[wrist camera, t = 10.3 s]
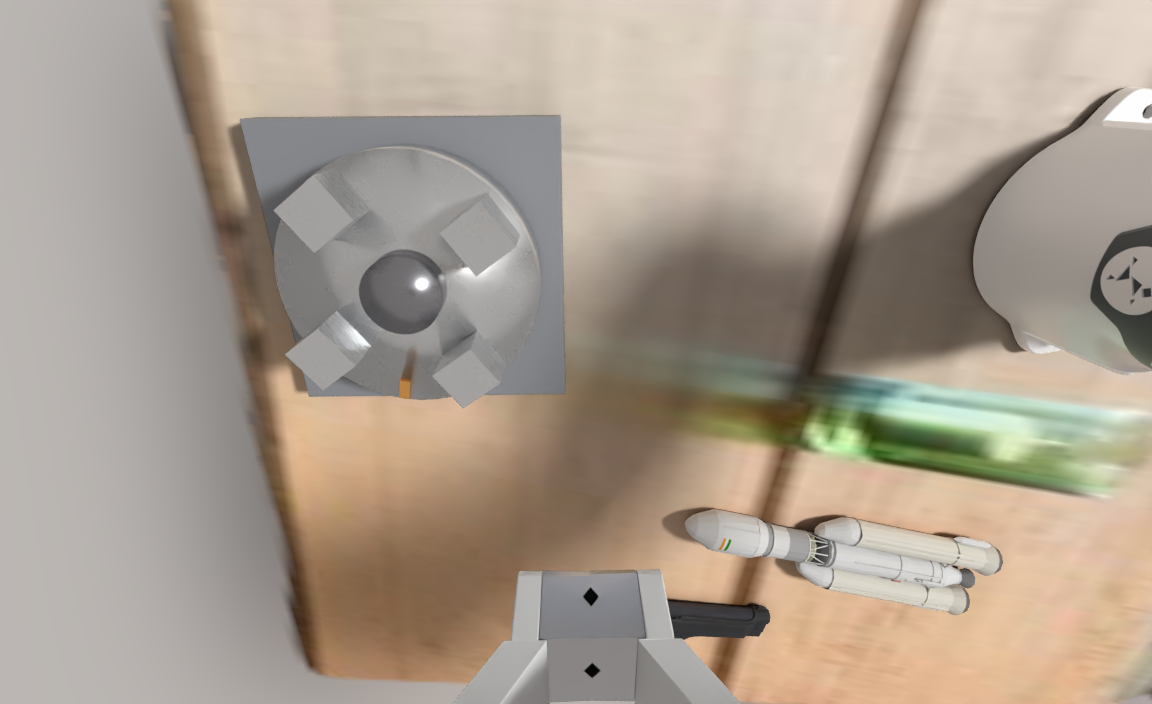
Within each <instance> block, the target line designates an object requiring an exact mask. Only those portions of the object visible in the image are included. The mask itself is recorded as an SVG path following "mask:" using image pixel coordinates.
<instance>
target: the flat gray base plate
mask: <svg viewBox="0 0 1152 704" xmlns="http://www.w3.org/2000/svg"><path fill="white" fill-rule="evenodd" d="M240 123H241V127H242V131H243V135H244V139H245V143H246V147H247V151H248V155H249V159H250V163H251V167H252V171H253V175H254V179H255V183H256V187H257V191H258V195H259V199H260V203H261V207H262V211H263V215H264V219H265V223H266V227H267V231H268V235H269V239H270V243H271V247H272V251H273V255H274V248H275V240H276V234H277V230H278V227H279V224H280V220H281V218H280V217H279V216H278V215H277V214H276V213H275V211H274V209H276V208H277V207H278V206H279V205H280V204H281V203H282V202H283V201H285V200H286V199H287V198H288V197H289V196H290V195H291V194H292V193H294V192H295V191H296V190H297V189H298V188H299V187H300V186H301V185H303V184H304V182H305V181H306V180H307V179H308V178H309V177H311V176H312V175H313V174H315V173H316V172H317V171H318V170H320V169H321V168H322V167H324V166H326V165H328V164H330V163H332V162H333V161H335V160H337V159H339V158H342V157H345V156H348V155H351V154H354V153H357V152H360V151H363V150H366V149H370V148H373V147H379V146H384V145H389V144H415V145H425V146H429V147H434V148H438V149H442V150H445V151H448V152H450V153H453V154H456V155H458V156H460V157H462V158H464V159H466V160H468V161H470V162H472V163H474V164H475V165H477V166H478V167H480V168H481V169H483V170H484V171H485V172H487V173H488V174H490V175H491V176H492V177H493V178H494V179H495V180H496V181H498V182H499V183H500V184H501V185H502V186H503V187H504V188H505V189H506V190H507V192H508V193H509V194H510V195H511V196H512V197H513V198H514V200H515V201H516V203H517V204H518V206H519V207H520V209H521V210H522V212H523V213H524V215H525V217H526V219H527V221H528V223H529V225H530V227H531V229H532V231H533V234H534V237H535V240H536V243H537V246H538V251H539V256H540V262H541V289H540V297H539V303H538V309H537V314H536V318H535V322H534V325H533V328H532V330H531V333H530V336H529V338H528V339H527V341H526V343H525V345H524V347H523V349H522V350H521V351H520V353H519V354H518V355H517V357H516V358H515V360H514V361H513V362H512V363H511V364H510V365H509V366H508V367H507V368H506V369H505V370H504V371H503V375H502V379H501V383H500V384H499V385H497V386H496V387H494V388H493V389H491V390H490V391H488V392H487V393H485V394H484V395H522V394H565V343H564V284H563V226H562V167H561V115H518V116H384V117H256V118H245V119H240ZM289 319H290V318H289ZM290 323H291V327H292V331H293V335H294V339H295V343H296V344H297V343H298V342H299V341H300V340H301V339H302V337H301V336H300V334H299V333H298V332H297V330H296V329H295V327H294V325H293V323H292V322H291V320H290ZM303 375H304V379H305V383H306V387H307V391H308V395H309V397H322V396H389V395H386V394H383V393H379V392H376V391H373V390H371V389H368V388H366V387H363V386H361V385H359V384H357V383H355V382H353V381H352V380H350V379H348V378H346V377H344V376H342V377H340V378H339V379H338V380H336V381H335V382H334V383H332V384H331V385H330V386H328V387H327V388H326V389H324V390H322V389H321V388H320V387H319V386H318V385H317V384H316V383H315V382H313V381H312V380H311V379H310V378H309V377H308V376H307V375H306V374H305V373H304V372H303Z"/></svg>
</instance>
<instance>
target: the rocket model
mask: <svg viewBox="0 0 1152 704" xmlns="http://www.w3.org/2000/svg"><path fill="white" fill-rule="evenodd" d="M685 529H686V530H687V532H688V533H689V535H690V536H691V537H692V538H693V539H695V540H696V541H698V542H699V543H700V544H702V545H703V546H705V547H706V548H707V549H710V550H712V551H716V552H722V553H727V554H732V555H737V556H743V557H748V558H752V557H756V556H761V555H762V556H763V557H773V558H778V559H784V560H789V561H794V562H795V565H796V568H797V571H798V572H799V573H800V574H802V575H803V576H804V577H805V578H806V579H808V580H809V581H810V582H811V583H813V584H815V585H817V586H820V587H823V588H825V589H828V590H833V591H839V592H844V593H849V594H855V595H860V596H866V597H871V598H877V599H882V600H887V601H893V602H898V603H904V604H909V605H912V606H916V607H920V608H926V609H931V610H937V611H938V610H942V611H947V612H949V613H950V614H952V615H959V614H961V613H964V612H966V611H967V609H968V608H969V604H970V600H969V595H968V593H967V592H966V590H965V589H964V588H963V587H965V588H970V587H972V586H973V585H974V584H975V576H974V574H973V572H971V571H970V570H969V569H966V568H970V569H973V570H975V571H976V572H978V573H980V574H982V575H985V576H989V575H992V574H995V573H997V572H998V571H1000V569H1001V566H1002V564H1003V560H1002V555H1001V553H1000V552H999V550H998V549H997V548H995V547H994V546H993V545H992V544H990V543H988V542H986V541H981V540H976V539H971V538H966V537H960V536H958V537H956V538H951V537H942V536H937V535H932V534H927V533H922V532H917V531H912V530H907V529H902V528H897V527H892V526H887V525H882V524H878V523H873V522H868V521H863V520H858V519H856V518H846V517H841V518H837V519H833V520H830V521H826V522H823V523H820V524H819V525H818V526H816V528H815V533H813V534H814V535H812V533H811V532H807V531H804V530H797V529H792V528H787V527H782V526H777V525H772V524H771V523H768V522H767V523H764V522H763V521H761V520H759V519H758V518H756V517H755V516H749V515H744V514H739V513H734V512H729V511H723V510H718V509H712V510H708V511H704V512H700V513H696V514H694V515H692V516H691V517H689V518H688V519H687V520H686V521H685ZM952 565H955V566H960V567H965V568H964V569H960V570H959V569H957V568H953V567H952ZM959 584H960V585H961V586H960V585H959ZM962 586H963V587H962Z"/></svg>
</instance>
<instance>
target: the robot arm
mask: <svg viewBox="0 0 1152 704" xmlns="http://www.w3.org/2000/svg"><path fill="white" fill-rule="evenodd" d="M1145 108H1146V111H1145V113H1144V114H1143V115H1142V113H1143V111H1144V109H1145ZM973 270H974V277H975V281H976V284H977V287H978V289H979V292H980V293H981V295H982V297H983V298H984V300H985V301H986V302H987V304H988V305H989V306H990V307H991V308H992V309H993V310H995V311H996V312H997V313H998V314H1000V315H1001V316H1002V317H1004V318H1005V319H1006V320H1007V321H1008V322H1009V323H1010V325H1011V328H1012V331H1013V334H1014V337H1015V339H1016V342H1017V343H1018V345H1019V346H1020V347H1021V348H1022V349H1024V350H1026V351H1029V352H1031V353H1034V354H1043V353H1049V352H1055V351H1060V350H1064V351H1066V352H1068V353H1070V354H1073V355H1075V356H1077V357H1080V358H1082V359H1084V360H1087V361H1089V362H1091V363H1094V364H1096V365H1098V366H1101V367H1103V368H1105V369H1108V370H1110V371H1112V372H1115V373H1118V374H1122V375H1131V374H1133V373H1139V372H1149V371H1152V89H1148V88H1140V87H1126V88H1123V89H1121V90H1119V91H1117V92H1116V93H1115V94H1113V95H1112V96H1111V97H1110V98H1109V99H1107V100H1106V101H1105V102H1104V103H1103V104H1102V105H1101V106H1100V107H1099V108H1098V109H1097V110H1096V111H1095V112H1094V113H1093V114H1092V116H1091V117H1090V118H1089V119H1088V120H1087V121H1086V122H1085V123H1084V124H1083V125H1082V126H1081V127H1079V128H1078V129H1077V130H1075V131H1073V132H1072V133H1070V134H1069V135H1067V136H1065V137H1064V138H1062V139H1060V140H1058V141H1057V142H1055V143H1053V144H1051V145H1050V146H1048V147H1047V148H1045V149H1044V150H1042V151H1041V152H1039V153H1038V154H1037V155H1035V156H1034V157H1033V158H1031V159H1030V160H1029V161H1028V162H1027V163H1025V164H1024V165H1023V166H1022V167H1021V168H1020V169H1019V170H1018V171H1017V172H1016V173H1015V174H1014V175H1013V176H1012V177H1011V178H1010V179H1009V180H1008V181H1007V183H1006V184H1005V185H1004V186H1003V188H1002V189H1001V190H1000V192H999V193H998V194H997V196H996V197H995V199H994V200H993V202H992V203H991V205H990V207H989V209H988V210H987V212H986V214H985V216H984V218H983V221H982V223H981V225H980V228H979V231H978V234H977V238H976V242H975V247H974V254H973ZM590 700H593V701H595V700H596V701H635V704H741V703H740V702H739V701H738V700H737V698H736V697H735V696H734V695H733V694H732V693H731V692H730V691H729V690H728V689H727V688H726V686H725V685H724V684H723V683H722V682H721V681H720V680H719V679H718V678H717V677H716V675H715V674H714V673H713V672H712V671H711V670H710V669H709V668H708V667H707V666H706V664H705V663H704V662H703V661H702V660H701V659H700V658H699V657H698V656H697V655H696V653H695V652H694V651H693V650H692V649H691V648H690V647H689V646H688V645H687V644H686V643H685V641H684V640H683V639H681V638H674V633H673V627H672V622H671V617H670V612H669V607H668V601H667V596H666V591H665V586H664V581H663V575H662V572H661V571H660V569H651V570H599V571H519V574H518V577H517V584H516V593H515V602H514V612H513V621H512V630H511V639H510V641H503V642H502V643H501V644H500V646H499V647H498V648H497V649H496V650H495V652H494V653H493V654H492V655H491V657H490V658H489V659H488V660H487V662H486V663H485V664H484V665H483V667H482V668H481V669H480V670H479V672H478V673H477V674H476V675H475V676H474V678H473V679H472V680H471V681H470V683H469V684H468V685H467V686H466V688H465V689H464V690H463V691H462V693H461V694H460V695H459V696H458V698H457V699H456V700H455V701H454V702H453V704H550V702H569V701H590Z"/></svg>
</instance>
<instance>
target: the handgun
mask: <svg viewBox="0 0 1152 704" xmlns="http://www.w3.org/2000/svg"><path fill="white" fill-rule="evenodd" d="M668 607H669V612H670V617H671V622H672V627H673V633H674V638H681V639H683V640H684V639H687V638H689V637H694V636H706V637H730V638H744V637H745V636H759V635H760V634H761V632H763V630H764V628H765V625H766V624H768V623H769V621H770V613H769V610H768V609H766V607H764V606H745V607H741V606H729V605H719V604H705V603H691V602H677V601H668Z"/></svg>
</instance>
